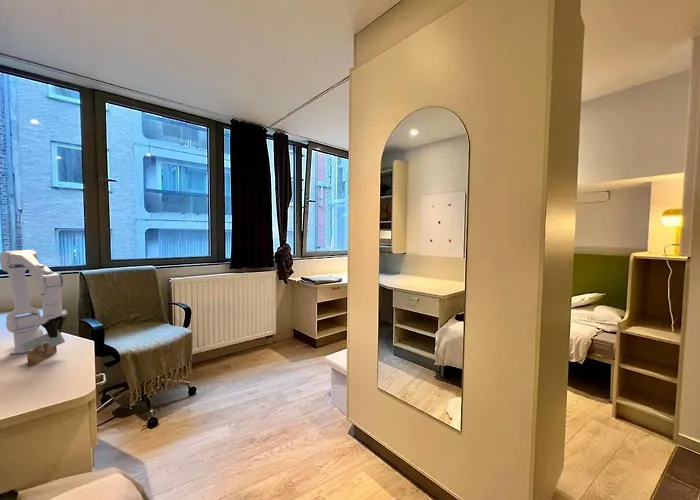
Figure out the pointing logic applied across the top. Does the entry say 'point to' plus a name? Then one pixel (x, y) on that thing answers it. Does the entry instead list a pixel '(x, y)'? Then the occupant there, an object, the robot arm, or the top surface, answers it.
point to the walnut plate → (40, 353)
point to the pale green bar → (37, 341)
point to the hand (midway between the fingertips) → (55, 336)
